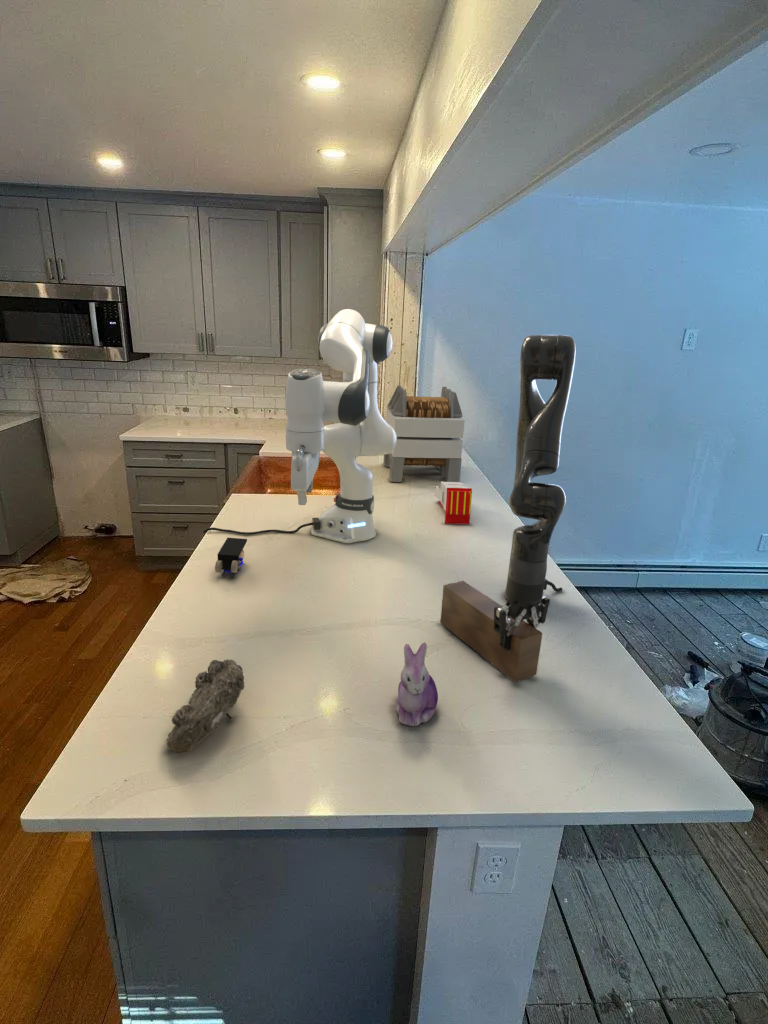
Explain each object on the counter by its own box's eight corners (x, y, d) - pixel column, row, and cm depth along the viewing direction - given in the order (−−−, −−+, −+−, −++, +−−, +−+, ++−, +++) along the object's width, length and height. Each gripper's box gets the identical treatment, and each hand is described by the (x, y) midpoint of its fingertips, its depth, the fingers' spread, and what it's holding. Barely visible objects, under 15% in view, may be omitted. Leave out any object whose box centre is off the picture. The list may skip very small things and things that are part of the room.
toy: (463, 477, 236) (476, 489, 206) (461, 509, 239) (474, 525, 209) (433, 476, 235) (443, 488, 206) (432, 508, 238) (441, 524, 209)
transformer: (382, 463, 289) (386, 382, 275) (445, 464, 293) (451, 384, 279) (390, 482, 257) (394, 392, 243) (460, 483, 261) (468, 394, 247)
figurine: (408, 735, 105) (412, 667, 100) (382, 702, 114) (386, 638, 109) (450, 721, 110) (457, 654, 105) (423, 690, 118) (428, 627, 113)
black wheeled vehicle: (238, 584, 162) (249, 557, 175) (236, 562, 158) (247, 536, 172) (215, 584, 161) (227, 556, 175) (212, 561, 158) (225, 535, 171)
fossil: (192, 660, 117) (244, 628, 112) (224, 691, 120) (276, 661, 115) (142, 746, 98) (202, 712, 93) (182, 779, 101) (242, 748, 96)
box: (440, 622, 143) (443, 585, 140) (459, 617, 146) (463, 580, 143) (515, 682, 121) (521, 639, 117) (536, 674, 124) (542, 632, 120)
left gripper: (312, 452, 122) (312, 513, 126) (324, 432, 141) (323, 486, 146) (283, 451, 122) (284, 511, 126) (298, 431, 141) (299, 484, 146)
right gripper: (512, 590, 111) (503, 662, 117) (565, 576, 118) (553, 645, 124) (488, 574, 117) (480, 644, 123) (539, 562, 124) (529, 628, 130)
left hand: (305, 497), depth 136 cm, fingers open, 8 cm apart
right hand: (517, 644), depth 123 cm, fingers open, 6 cm apart
